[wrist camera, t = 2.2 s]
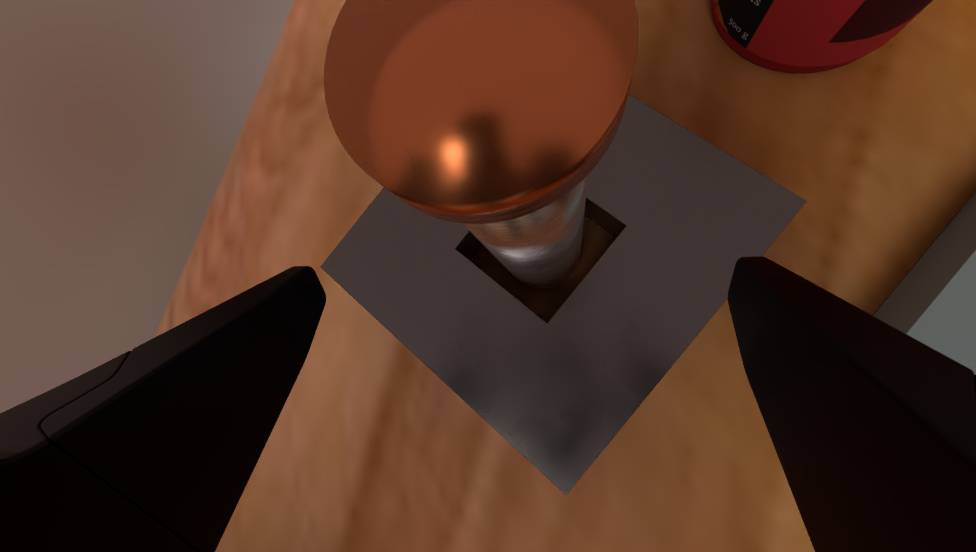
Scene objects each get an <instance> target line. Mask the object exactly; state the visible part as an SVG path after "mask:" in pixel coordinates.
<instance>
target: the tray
mask: <svg viewBox="0 0 976 552" xmlns="http://www.w3.org/2000/svg"><path fill="white" fill-rule="evenodd" d="M873 316H874V317H876V318H878V319H880V320H881V321H883V322H885V323H887V324H889V325H891V326H892V327H894V328H896V329H898V330H900V331H902V332H903V333H905V334H907V335H909V336H911V337H913V338H914V339H916V340H918V341H920V342H922V343H924V344H925V345H927V346H929V347H931V348H933V349H935V350H936V351H938V352H940V353H942V354H944V355H946V356H947V357H949V358H951V359H953V360H955V361H957V362H958V363H960V364H962V365H964V366H966V367H968V368H969V369H971V370H973V372H974V375H975V374H976V192H975V193H974V194H973V195H972V196H971V198H970V199H969V200H968V201H967V202H966V204H965V205H964V206H963V207H962V208H961V210H960V211H959V212H958V213H957V215H956V216H955V217H954V218H953V219H952V221H951V222H950V223H949V224H948V225H947V227H946V228H945V229H944V230H943V231H942V233H941V234H940V235H939V236H938V238H937V239H936V240H935V241H934V242H933V244H932V245H931V246H930V247H929V248H928V250H927V251H926V252H925V253H924V254H923V256H922V257H921V258H920V259H919V261H918V262H917V263H916V264H915V265H914V267H913V268H912V269H911V270H910V271H909V273H908V274H907V275H906V276H905V277H904V279H903V280H902V281H901V282H900V284H899V285H898V286H897V287H896V288H895V290H894V291H893V292H892V293H891V294H890V296H889V297H888V298H887V299H886V300H885V302H884V303H883V304H882V305H881V307H880V308H879V309H878V310H877V311H876V313H875V314H874V315H873Z"/></svg>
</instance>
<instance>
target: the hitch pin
mask: <svg viewBox="0 0 976 552" xmlns="http://www.w3.org/2000/svg"><path fill="white" fill-rule="evenodd" d="M637 46H638V21H637V11H636V7H635V3H634V0H346V2H345V4H344V5H343V7H342V9H341V11H340V13H339V15H338V17H337V20H336V22H335V25H334V27H333V30H332V33H331V36H330V40H329V43H328V47H327V53H326V59H325V66H324V89H325V100H326V104H327V108H328V113H329V117H330V120H331V122H332V125H333V127H334V130H335V132H336V134H337V136H338V138H339V140H340V141H341V143H342V145H343V147H344V149H345V150H346V151H347V152H348V154H349V155H350V156H351V157H352V159H353V160H354V161H355V163H357V164H358V165H359V166H360V167H361V168H362V169H363V170H364V171H365V172H366V173H367V174H368V175H369V176H371V177H372V178H373V179H374V180H376V181H377V182H378V183H379V184H381V185H382V186H383V187H384V188H386V189H387V190H388V191H390V192H391V193H392V194H393V195H395V196H396V197H397V198H398V199H400V200H401V201H403V202H404V203H406V204H407V205H409V206H410V207H412V208H414V209H416V210H418V211H420V212H422V213H424V214H426V215H429V216H432V217H435V218H438V219H441V220H445V221H450V222H455V223H463V224H464V225H465V226H466V227H467V228H468V230H469V231H470V232H471V233H472V234H473V235H474V236H475V237H476V238H477V239H478V240H479V241H480V242H481V243H482V244H483V245H484V246H485V247H486V248H487V249H488V250H489V251H490V252H491V253H492V254H493V255H494V256H495V257H496V258H497V259H498V260H499V261H500V262H501V263H502V265H503V266H504V267H505V268H506V269H507V270H508V271H509V272H510V273H511V274H512V275H513V276H514V277H515V278H516V279H517V280H519V281H520V282H522V283H523V284H525V285H528V286H530V287H534V288H549V287H553V286H556V285H559V284H561V283H562V282H564V281H566V280H567V279H568V278H569V277H570V276H571V275H572V274H573V273H574V271H575V270H576V268H577V266H578V264H579V261H580V257H581V249H582V237H583V225H584V213H585V201H586V189H587V177H588V174H589V173H590V172H591V171H592V170H593V169H594V168H595V167H596V165H597V164H598V163H599V161H600V160H601V158H602V157H603V156H604V154H605V153H606V151H607V150H608V148H609V146H610V145H611V143H612V141H613V139H614V137H615V135H616V133H617V131H618V128H619V125H620V123H621V120H622V117H623V115H624V110H625V106H626V101H627V97H628V92H629V88H630V83H631V79H632V74H633V69H634V65H635V60H636V55H637Z"/></svg>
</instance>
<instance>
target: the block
mask: <svg viewBox="0 0 976 552" xmlns="http://www.w3.org/2000/svg"><path fill="white" fill-rule="evenodd" d="M806 202H807V201H805V200H804V199H802V198H801V197H799V196H797V195H796V194H794V193H792V192H791V191H789V190H787V189H786V188H784V187H782V186H781V185H779V184H777V183H776V182H774V181H772V180H771V179H769V178H767V177H766V176H764V175H762V174H761V173H759V172H757V171H756V170H754V169H752V168H751V167H749V166H747V165H746V164H744V163H742V162H741V161H739V160H737V159H736V158H734V157H732V156H731V155H729V154H727V153H726V152H724V151H723V150H721V149H719V148H718V147H716V146H714V145H713V144H711V143H709V142H708V141H706V140H704V139H703V138H701V137H699V136H698V135H696V134H694V133H693V132H691V131H689V130H688V129H686V128H684V127H683V126H681V125H679V124H678V123H676V122H674V121H673V120H671V119H669V118H668V117H666V116H664V115H663V114H661V113H659V112H658V111H656V110H654V109H653V108H651V107H649V106H648V105H646V104H644V103H643V102H641V101H640V100H638V99H636V98H635V97H633V96H631V95H630V94H628V97H627V101H626V106H625V110H624V115H623V117H622V120H621V123H620V125H619V128H618V131H617V133H616V135H615V137H614V139H613V141H612V143H611V145H610V146H609V148H608V150H607V151H606V153H605V154H604V156H603V157H602V158H601V160H600V161H599V163H598V164H597V165H596V167H595V168H594V169H593V170H592V171H591V172H590V173H589V174H588V177H587V189H586V201H585V213H584V215H585V216H587V217H588V218H590V219H591V220H593V221H594V222H595V223H597V224H598V225H600V226H601V227H602V228H604V229H605V230H607V231H608V232H609V233H611V234H612V235H614V236H615V237H616V239H615V241H614V242H613V243H612V244H611V246H610V247H609V248H608V249H607V251H606V252H605V253H604V254H603V255H602V257H601V258H600V259H599V260H598V262H597V263H596V264H595V265H594V267H593V268H592V269H591V270H590V271H589V273H588V274H587V275H586V276H585V278H584V279H583V280H582V281H581V283H580V284H579V285H578V286H577V288H576V289H575V290H574V291H573V292H572V294H571V295H570V296H569V297H568V299H567V300H566V301H565V302H564V304H563V305H562V306H561V307H560V308H559V310H558V311H557V312H556V313H555V315H554V316H553V317H552V318H551V320H550V321H549V322H548V323H547V322H545V321H544V320H543V319H542V318H540V317H539V316H538V315H537V314H536V313H534V312H533V311H532V310H531V309H529V308H528V307H527V306H526V305H524V304H523V303H522V302H521V301H520V300H518V299H517V298H516V297H515V296H513V295H512V294H511V293H510V292H508V291H507V290H506V289H505V288H504V287H502V286H501V285H500V284H499V283H497V282H496V281H495V280H494V279H492V278H491V277H490V276H489V275H488V274H486V273H485V272H484V271H483V270H481V269H480V268H479V267H478V266H476V265H475V264H474V263H473V262H472V261H470V260H469V259H470V258H471V257H472V255H473V254H474V253H475V252H476V250H477V249H478V248H479V247H480V245H481V244H482V243H481V242H480V241H479V240H478V239H477V238H476V237H475V236H474V235H473V234H472V233H471V232H470V231H469V230H468V228H467V227H466V226H465V225H464V224H463V223H455V222H450V221H445V220H441V219H438V218H435V217H432V216H429V215H426V214H424V213H422V212H420V211H418V210H416V209H414V208H412V207H410V206H409V205H407V204H406V203H404V202H403V201H401V200H400V199H398V198H397V197H396V196H395V195H393V194H392V193H391V192H390V191H388V190H387V189H386V188H383V189H382V190H381V192H380V193H379V194H378V195H377V197H376V198H375V199H374V200H373V202H372V203H371V204H370V205H369V207H368V208H367V209H366V210H365V212H364V213H363V214H362V215H361V217H360V218H359V219H358V220H357V222H356V223H355V224H354V225H353V227H352V228H351V229H350V230H349V232H348V233H347V234H346V235H345V237H344V238H343V239H342V240H341V242H340V243H339V244H338V245H337V247H336V248H335V249H334V250H333V252H332V253H331V254H330V255H329V257H328V258H327V259H326V260H325V262H324V263H323V264H322V265H321V268H322V269H323V270H324V271H325V272H326V273H327V274H328V275H330V276H331V277H332V278H333V279H334V280H335V281H336V282H337V283H338V284H339V285H340V286H341V287H342V288H344V289H345V290H346V291H347V292H348V293H349V294H350V295H351V296H352V297H353V298H354V299H355V300H356V301H357V302H359V303H360V304H361V305H362V306H363V307H364V308H365V309H366V310H367V311H368V312H369V313H370V314H371V315H373V316H374V317H375V318H376V319H377V320H378V321H379V322H380V323H381V324H382V325H383V326H384V327H385V328H387V329H388V330H389V331H390V332H391V333H392V334H393V335H394V336H395V337H396V338H397V339H398V340H399V341H401V342H402V343H403V344H404V345H405V346H406V347H407V348H408V349H409V350H410V351H411V352H412V353H413V354H414V355H416V356H417V357H418V358H419V359H420V360H421V361H422V362H423V363H424V364H425V365H426V366H427V367H428V368H430V369H431V370H432V371H433V372H434V373H435V374H436V375H437V376H438V377H439V378H440V379H441V380H442V381H444V382H445V383H446V384H447V385H448V386H449V387H450V388H451V389H452V390H453V391H454V392H455V393H456V394H458V395H459V396H460V397H461V398H462V399H463V400H464V401H465V402H466V403H467V404H468V405H469V406H470V407H471V408H473V409H474V410H475V411H476V412H477V413H478V414H479V415H480V416H481V417H482V418H483V419H484V420H485V421H487V422H488V423H489V424H490V425H491V426H492V427H493V428H494V429H495V430H496V431H497V432H498V433H499V434H501V435H502V436H503V437H504V438H505V439H506V440H507V441H508V442H509V443H510V444H511V445H512V446H513V447H515V448H516V449H517V450H518V451H519V452H520V453H521V454H522V455H523V456H524V457H525V458H526V459H527V460H528V461H530V462H531V463H532V464H533V465H534V466H535V467H536V468H537V469H538V470H539V471H540V472H541V473H542V474H544V475H545V476H546V477H547V478H548V479H549V480H550V481H551V482H552V483H553V484H554V485H555V486H556V487H558V488H559V489H560V490H561V491H562V492H563V493H564V494H565V495H567V493H568V492H569V491H570V490H571V489H572V487H573V486H574V485H575V484H576V482H577V481H578V480H579V479H580V478H581V476H582V475H583V474H584V473H585V472H586V470H587V469H588V468H589V467H590V465H591V464H592V463H593V462H594V461H595V459H596V458H597V457H598V456H599V454H600V453H601V452H602V451H603V450H604V448H605V447H606V446H607V445H608V443H609V442H610V441H611V440H612V439H613V437H614V436H615V435H616V434H617V432H618V431H619V430H620V429H621V428H622V426H623V425H624V424H625V423H626V421H627V420H628V419H629V418H630V417H631V415H632V414H633V413H634V412H635V410H636V409H637V408H638V407H639V406H640V404H641V403H642V402H643V401H644V399H645V398H646V397H647V396H648V395H649V393H650V392H651V391H652V390H653V388H654V387H655V386H656V385H657V384H658V382H659V381H660V380H661V379H662V377H663V376H664V375H665V374H666V373H667V371H668V370H669V369H670V368H671V366H672V365H673V364H674V363H675V362H676V360H677V359H678V358H679V357H680V355H681V354H682V353H683V352H684V351H685V349H686V348H687V347H688V346H689V345H690V343H691V342H692V341H693V340H694V338H695V337H696V336H697V335H698V334H699V332H700V331H701V330H702V329H703V327H704V326H705V325H706V324H707V323H708V321H709V320H710V319H711V318H712V316H713V315H714V314H715V313H716V312H717V310H718V309H719V308H720V307H721V305H722V304H723V303H724V302H725V301H726V299H727V298H728V290H729V286H730V282H731V279H732V275H733V271H734V267H735V264H736V262H737V260H738V259H739V258H741V257H753V256H762V255H763V254H764V253H765V252H766V250H767V249H768V248H769V247H770V246H771V244H772V243H773V242H774V241H775V239H776V238H777V237H778V236H779V235H780V233H781V232H782V231H783V230H784V228H785V227H786V226H787V225H788V224H789V222H790V221H791V220H792V219H793V218H794V216H795V215H796V214H797V213H798V211H799V210H800V209H801V208H802V207H803V205H804V204H805V203H806Z"/></svg>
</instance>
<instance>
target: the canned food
mask: <svg viewBox="0 0 976 552" xmlns="http://www.w3.org/2000/svg"><path fill="white" fill-rule="evenodd" d="M931 1H933V0H712V14H713V18H714V22H715V25H716V27H717V29H718V31H719V33H720V35H721V37H722V38H723V39H724V40H725V41H726V43H727V44H728V45H729V46H730V47H731V48H732V49H733V50H734V51H736V52H737V53H738V54H739V55H741V56H742V57H743V58H745V59H747V60H749V61H751V62H753V63H755V64H757V65H759V66H762V67H765V68H768V69H771V70H774V71H781V72H788V73H814V72H820V71H826V70H831V69H834V68H837V67H840V66H843V65H846V64H849V63H851V62H853V61H855V60H856V59H858V58H860V57H862V56H864V55H866V54H868V53H870V52H872V51H874V50H875V49H877V48H879V47H881V46H882V45H884V44H885V43H886V42H887V41H889V40H890V39H891V38H892V37H894V36H895V35H896V34H897V33H898V32H899V31H900V30H901V29H903V28H904V27H905V26H906V25H907V24H908V23H909V22H910V21H911V20H912V19H913V18H914V17H915V16H916V15H918V14H919V13H920V12H921V11H922V10H923V9H924V8H925V7H926V6H927V5H928V4H929V3H930V2H931Z"/></svg>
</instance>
